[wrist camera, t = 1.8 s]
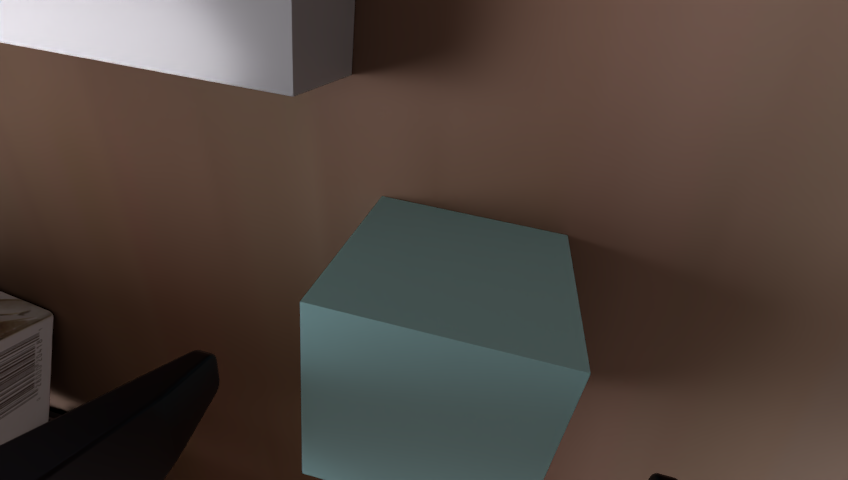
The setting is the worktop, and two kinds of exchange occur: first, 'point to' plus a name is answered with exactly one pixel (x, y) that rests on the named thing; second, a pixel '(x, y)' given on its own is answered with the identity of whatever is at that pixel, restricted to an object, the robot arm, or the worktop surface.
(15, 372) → the coffee box
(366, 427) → the teal cube
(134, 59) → the stone plinth
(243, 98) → the worktop surface
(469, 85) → the worktop surface
